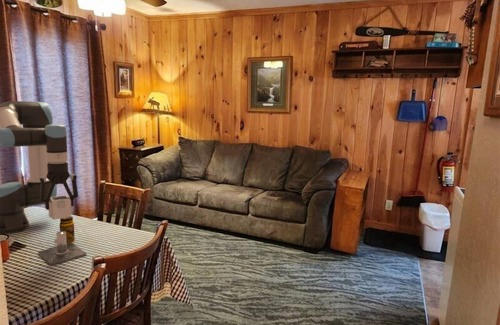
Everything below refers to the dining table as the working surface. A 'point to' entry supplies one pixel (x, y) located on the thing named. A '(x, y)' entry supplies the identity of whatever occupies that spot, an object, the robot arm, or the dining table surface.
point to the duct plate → (61, 258)
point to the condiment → (67, 229)
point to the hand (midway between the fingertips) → (60, 215)
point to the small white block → (60, 207)
